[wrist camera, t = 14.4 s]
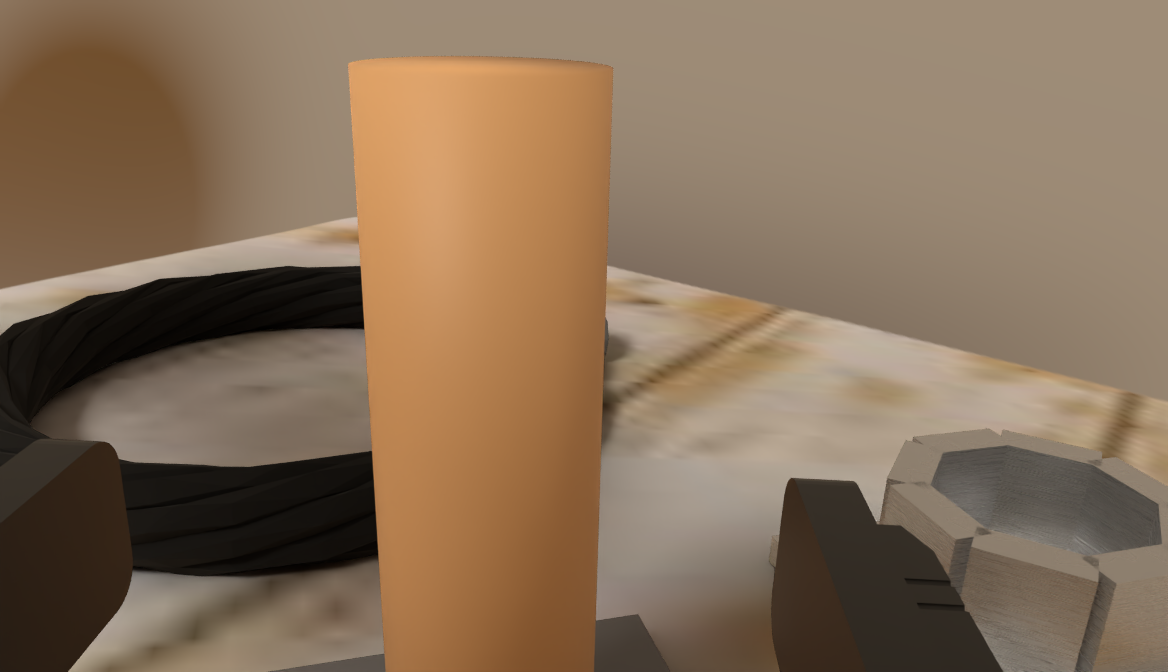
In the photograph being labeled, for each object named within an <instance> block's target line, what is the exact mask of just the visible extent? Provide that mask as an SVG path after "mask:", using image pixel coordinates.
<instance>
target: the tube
mask: <svg viewBox="0 0 1168 672" xmlns="http://www.w3.org/2000/svg"><path fill="white" fill-rule="evenodd" d="M348 68H349V83H350V100H351V116H352V133H353V149H354V166H355V181H356V198H357V214H358V231H359V247H360V263H361V279H362V296H363V312H364V328H365V344H366V361H367V377H368V393H369V409H370V426H371V442H372V458H373V474H374V491H375V507H376V523H377V539H378V556H379V572H380V588H381V604H382V621H383V637H384V653H385V669H386V672H594V655H595V623H596V592H597V561H598V529H599V498H600V467H601V436H602V404H603V373H604V342H605V310H606V279H607V248H608V247H607V246H608V216H609V215H608V214H609V185H610V153H611V122H612V91H613V67H611V66H608V65H603V64H598V63H590V62H582V61H571V60H559V59H543V58H522V57H521V58H520V57H487V56H486V57H483V56H423V57H396V58H379V59H368V60H360V61H354V62H351V63H349V64H348Z"/></svg>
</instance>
